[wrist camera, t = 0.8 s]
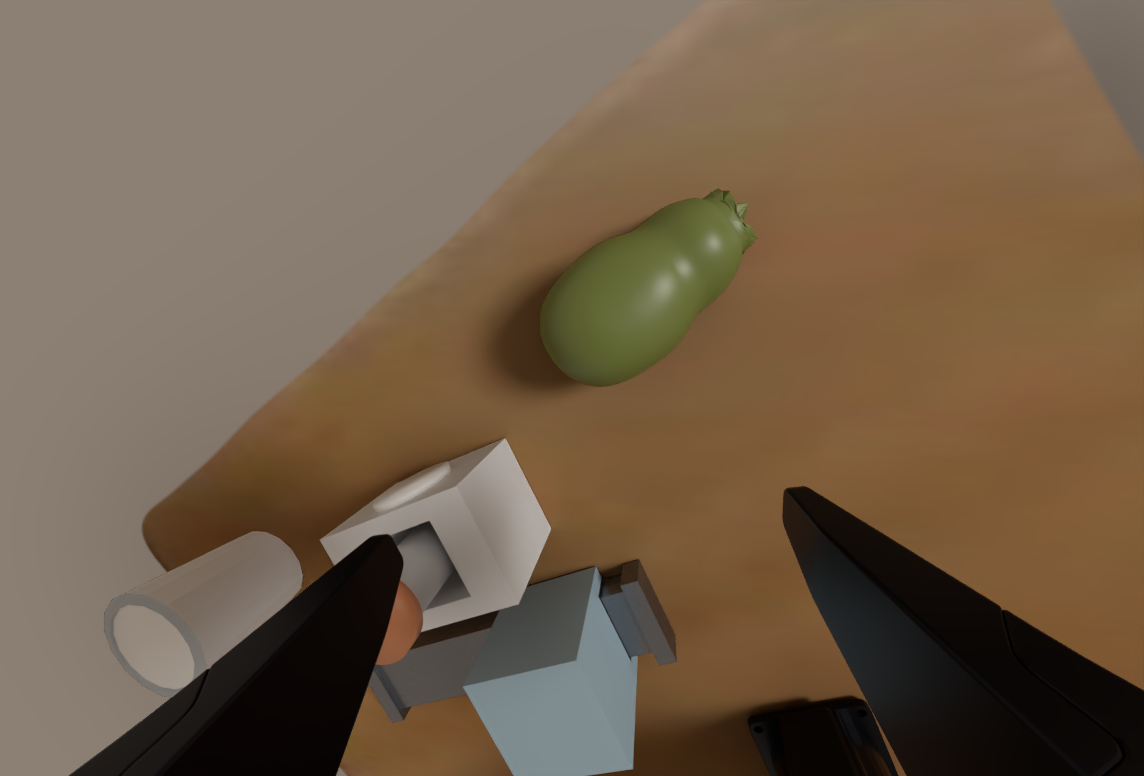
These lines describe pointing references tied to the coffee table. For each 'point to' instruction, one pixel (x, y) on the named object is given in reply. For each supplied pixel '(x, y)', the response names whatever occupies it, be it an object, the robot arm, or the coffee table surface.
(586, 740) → the block
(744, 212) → the green eggplant
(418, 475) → the cabinet
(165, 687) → the shot glass
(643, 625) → the rail
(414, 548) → the button
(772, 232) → the coffee table surface
